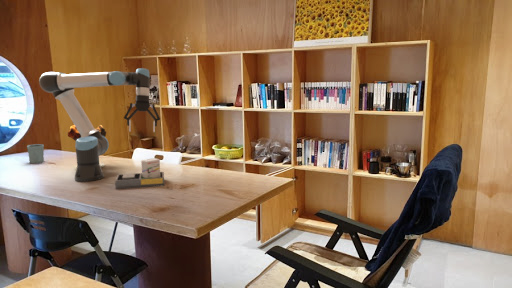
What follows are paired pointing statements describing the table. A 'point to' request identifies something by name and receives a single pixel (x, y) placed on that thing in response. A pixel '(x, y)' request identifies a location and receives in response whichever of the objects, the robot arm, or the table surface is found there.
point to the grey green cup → (36, 153)
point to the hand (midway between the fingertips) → (142, 131)
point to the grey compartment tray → (137, 181)
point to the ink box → (151, 168)
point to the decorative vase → (76, 135)
